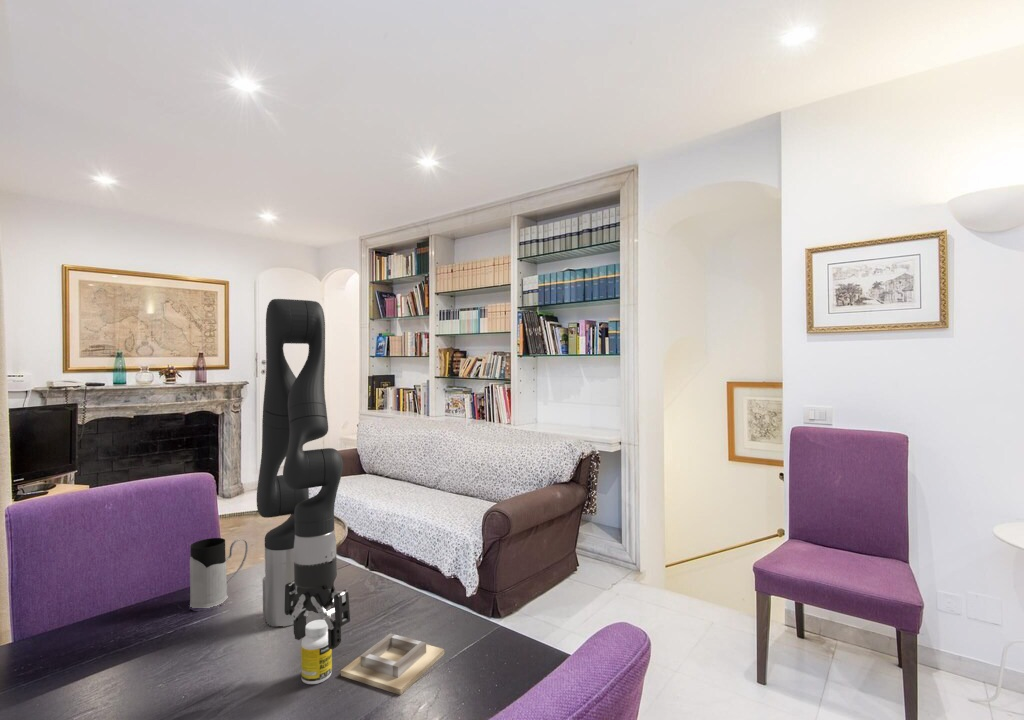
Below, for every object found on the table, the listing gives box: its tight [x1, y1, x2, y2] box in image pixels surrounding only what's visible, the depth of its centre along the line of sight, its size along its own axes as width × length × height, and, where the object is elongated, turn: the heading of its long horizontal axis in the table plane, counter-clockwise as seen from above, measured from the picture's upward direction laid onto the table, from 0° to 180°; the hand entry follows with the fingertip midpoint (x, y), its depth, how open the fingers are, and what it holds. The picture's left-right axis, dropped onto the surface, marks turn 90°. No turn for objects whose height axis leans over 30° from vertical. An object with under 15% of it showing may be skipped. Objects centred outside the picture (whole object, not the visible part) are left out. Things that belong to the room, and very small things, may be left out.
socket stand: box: [340, 633, 445, 696], centre depth 100 cm, size 14×14×3 cm
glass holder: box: [189, 537, 249, 608], centre depth 130 cm, size 9×14×15 cm, turn 145°
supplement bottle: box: [300, 619, 333, 685], centre depth 97 cm, size 5×5×10 cm
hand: (317, 642), depth 96 cm, fingers open, 8 cm apart
